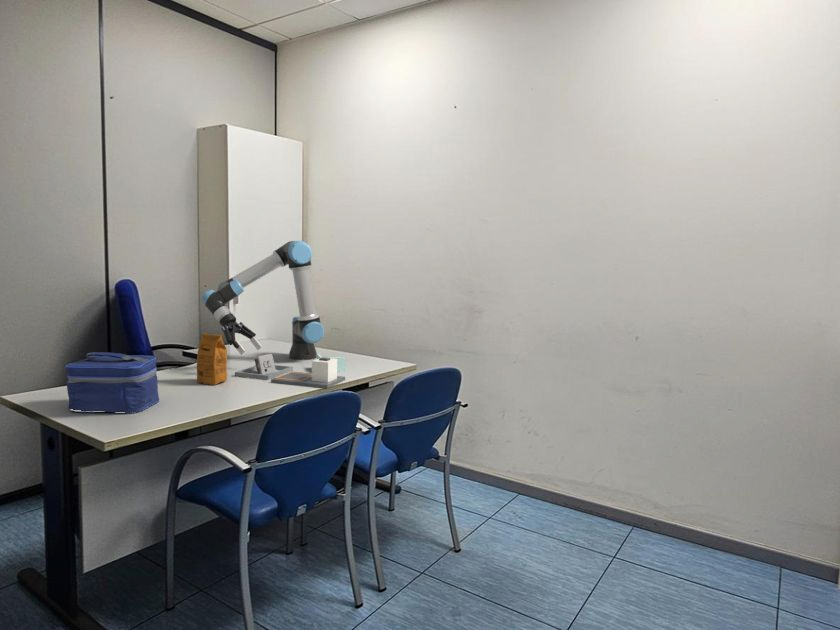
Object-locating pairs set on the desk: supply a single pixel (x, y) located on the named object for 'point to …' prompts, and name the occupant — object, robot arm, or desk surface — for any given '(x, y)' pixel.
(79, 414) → the desk surface
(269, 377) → the tray frame
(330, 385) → the power dock
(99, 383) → the lunch bag
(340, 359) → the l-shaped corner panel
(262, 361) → the electrical switch
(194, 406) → the desk surface
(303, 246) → the robot arm
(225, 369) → the coffee package
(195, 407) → the desk surface
